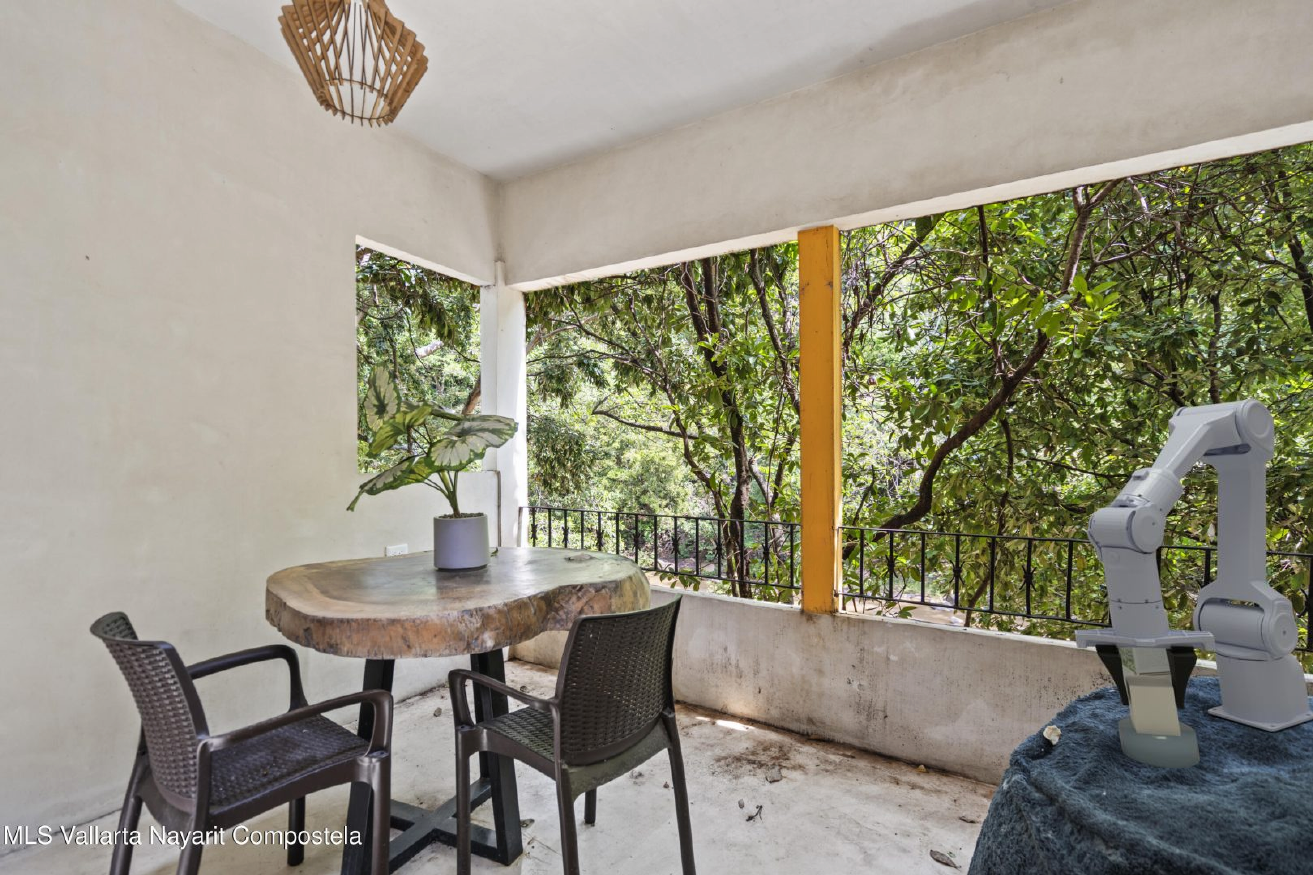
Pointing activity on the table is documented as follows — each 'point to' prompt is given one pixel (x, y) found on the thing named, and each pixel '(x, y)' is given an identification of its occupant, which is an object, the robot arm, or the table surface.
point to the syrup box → (1145, 660)
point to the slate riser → (1159, 746)
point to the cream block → (1152, 705)
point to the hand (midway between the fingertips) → (1151, 704)
